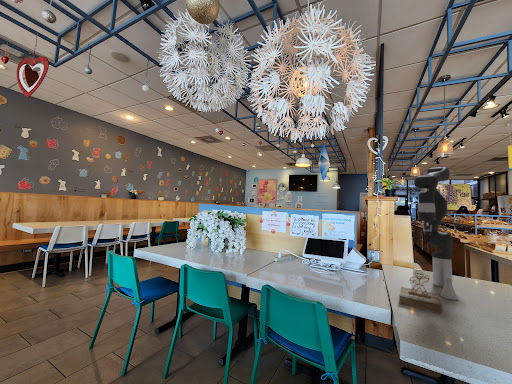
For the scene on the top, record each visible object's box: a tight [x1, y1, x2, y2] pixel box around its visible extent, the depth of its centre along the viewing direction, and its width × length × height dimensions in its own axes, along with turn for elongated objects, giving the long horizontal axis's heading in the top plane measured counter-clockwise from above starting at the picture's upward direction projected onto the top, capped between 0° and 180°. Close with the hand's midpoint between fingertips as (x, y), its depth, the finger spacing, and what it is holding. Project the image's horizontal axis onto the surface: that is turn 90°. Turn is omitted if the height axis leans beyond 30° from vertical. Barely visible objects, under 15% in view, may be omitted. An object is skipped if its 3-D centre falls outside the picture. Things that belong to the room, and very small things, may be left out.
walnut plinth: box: [399, 286, 443, 315], centre depth 110 cm, size 16×16×4 cm
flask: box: [439, 278, 459, 301], centre depth 118 cm, size 7×7×10 cm
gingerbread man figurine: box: [409, 270, 431, 298], centre depth 110 cm, size 9×4×12 cm, turn 54°
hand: (427, 240), depth 120 cm, fingers open, 8 cm apart
